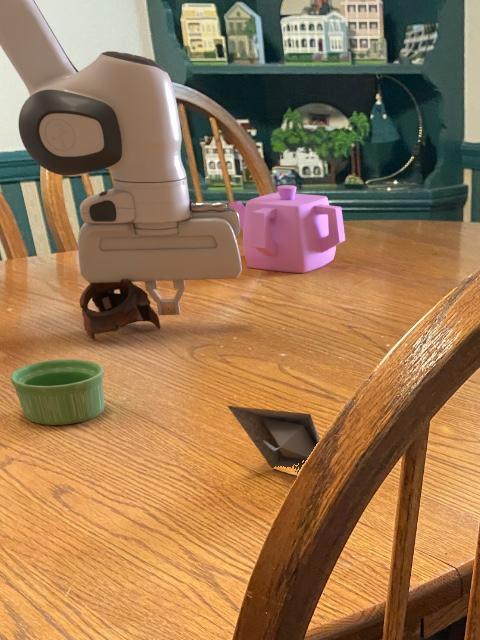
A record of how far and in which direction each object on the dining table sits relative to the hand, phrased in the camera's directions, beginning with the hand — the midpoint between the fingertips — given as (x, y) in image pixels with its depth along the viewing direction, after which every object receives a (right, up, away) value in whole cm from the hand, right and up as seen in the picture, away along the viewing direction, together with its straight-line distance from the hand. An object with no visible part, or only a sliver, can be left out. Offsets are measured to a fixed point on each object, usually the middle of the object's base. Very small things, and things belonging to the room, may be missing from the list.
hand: (169, 314), depth 121 cm
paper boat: (+22, -27, -37) cm, 50 cm away
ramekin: (-3, -19, -25) cm, 32 cm away
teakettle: (+10, +21, +37) cm, 43 cm away
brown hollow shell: (-6, -3, 0) cm, 7 cm away
